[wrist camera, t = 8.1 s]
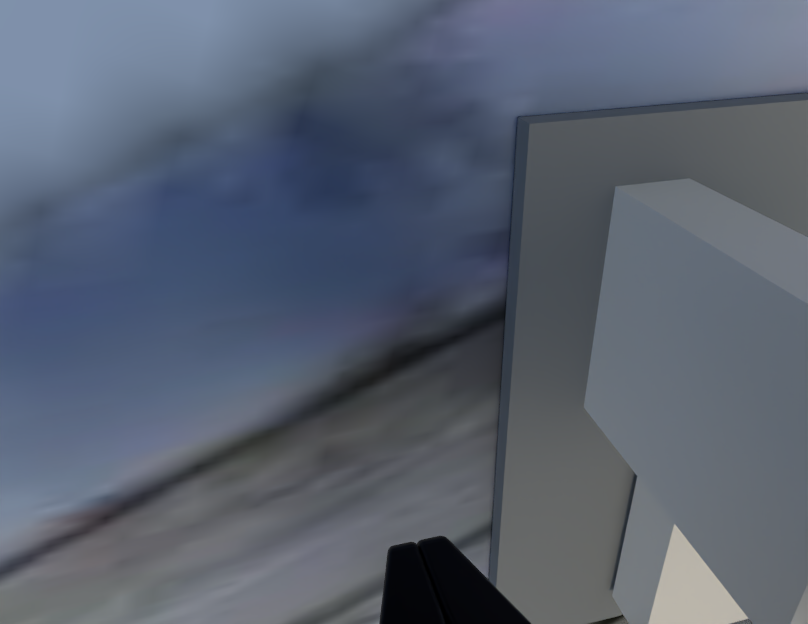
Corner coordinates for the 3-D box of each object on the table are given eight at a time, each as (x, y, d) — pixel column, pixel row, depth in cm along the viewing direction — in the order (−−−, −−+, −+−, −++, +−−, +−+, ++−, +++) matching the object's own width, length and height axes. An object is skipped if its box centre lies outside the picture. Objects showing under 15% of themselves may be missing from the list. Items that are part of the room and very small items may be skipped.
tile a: (637, 452, 18) (844, 411, 20) (609, 590, 21) (791, 546, 23) (679, 503, 17) (903, 454, 18) (642, 646, 20) (836, 595, 21)
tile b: (696, 177, 14) (1029, 339, 8) (652, 394, 17) (873, 627, 11) (615, 186, 14) (904, 363, 8) (583, 407, 17) (776, 654, 11)
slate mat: (1078, 70, 16) (1106, 74, 16) (858, 539, 25) (871, 552, 24) (518, 117, 13) (529, 123, 13) (485, 631, 22) (491, 647, 21)
